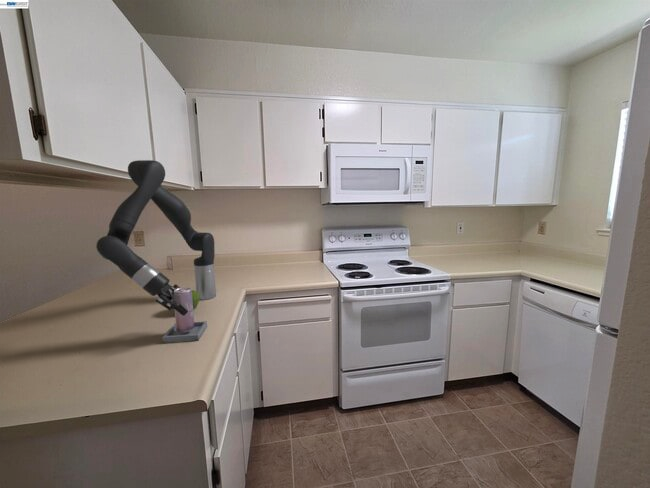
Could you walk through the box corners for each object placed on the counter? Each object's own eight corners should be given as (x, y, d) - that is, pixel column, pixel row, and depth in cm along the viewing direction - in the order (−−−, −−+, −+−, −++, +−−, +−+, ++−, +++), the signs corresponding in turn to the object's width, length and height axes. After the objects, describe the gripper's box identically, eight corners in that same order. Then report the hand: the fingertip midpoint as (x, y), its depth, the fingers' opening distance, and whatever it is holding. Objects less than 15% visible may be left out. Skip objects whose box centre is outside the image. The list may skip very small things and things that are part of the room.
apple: (173, 318, 117) (171, 295, 116) (174, 309, 127) (172, 288, 125) (201, 313, 122) (199, 291, 121) (200, 305, 131) (199, 285, 130)
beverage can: (185, 324, 106) (182, 286, 104) (198, 326, 105) (195, 288, 102) (172, 331, 101) (169, 291, 98) (186, 333, 99) (182, 293, 97)
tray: (175, 328, 108) (175, 323, 107) (207, 326, 109) (206, 321, 109) (162, 343, 96) (162, 337, 96) (198, 340, 98) (197, 334, 98)
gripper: (148, 277, 91) (189, 310, 95) (166, 267, 105) (202, 296, 109) (132, 293, 91) (174, 326, 95) (153, 281, 105) (188, 309, 109)
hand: (189, 309), depth 102 cm, fingers closed on beverage can, 6 cm apart
